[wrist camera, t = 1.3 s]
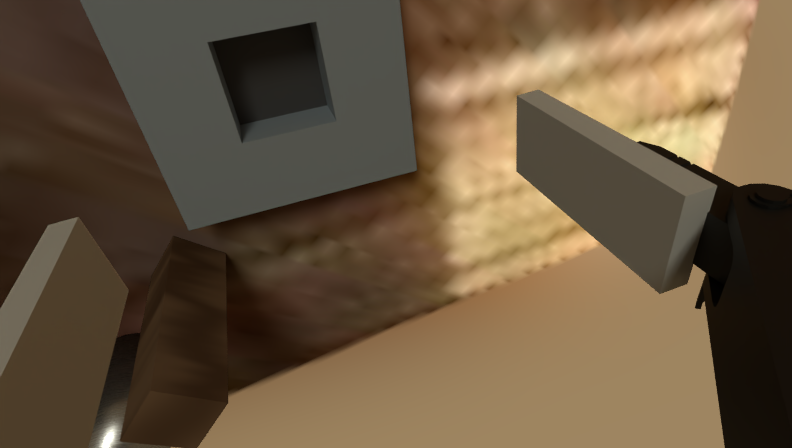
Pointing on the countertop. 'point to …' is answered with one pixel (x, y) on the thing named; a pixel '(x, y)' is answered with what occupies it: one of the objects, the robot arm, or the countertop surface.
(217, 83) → the socket plate
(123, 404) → the round bit
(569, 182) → the robot arm
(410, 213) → the countertop surface
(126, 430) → the wooden square peg
